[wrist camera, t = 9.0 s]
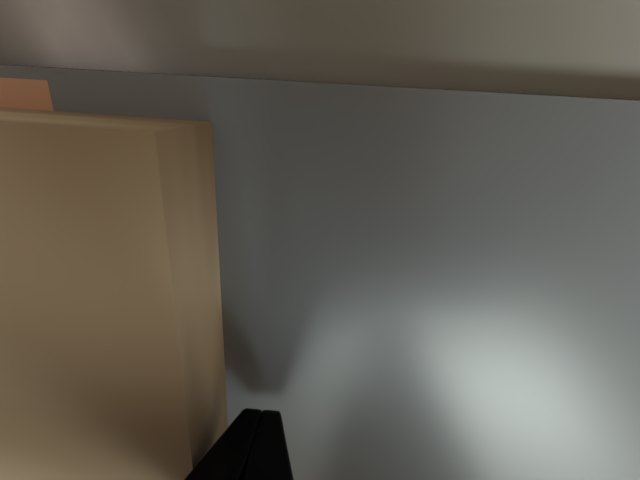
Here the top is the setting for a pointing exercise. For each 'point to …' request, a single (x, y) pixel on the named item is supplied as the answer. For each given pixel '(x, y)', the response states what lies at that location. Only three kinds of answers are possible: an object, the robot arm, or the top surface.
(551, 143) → the grey flat panel
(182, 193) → the oak T block
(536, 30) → the top surface
